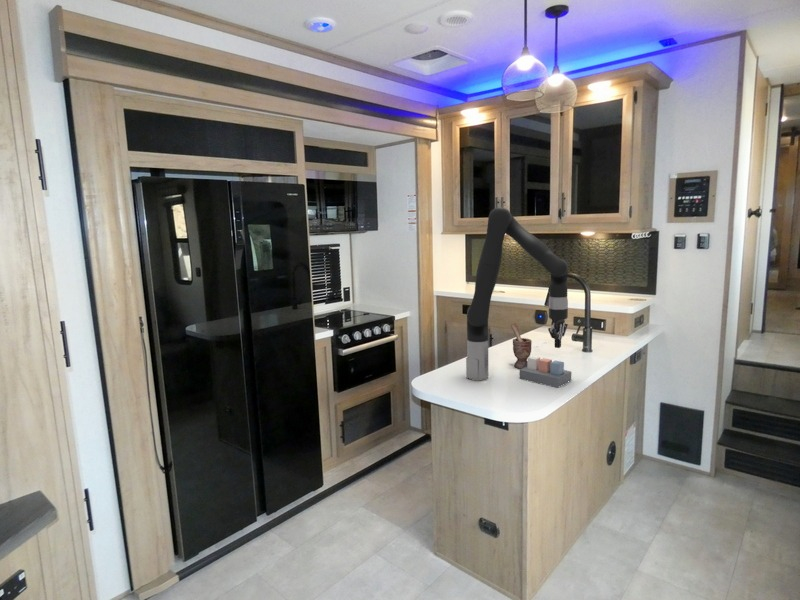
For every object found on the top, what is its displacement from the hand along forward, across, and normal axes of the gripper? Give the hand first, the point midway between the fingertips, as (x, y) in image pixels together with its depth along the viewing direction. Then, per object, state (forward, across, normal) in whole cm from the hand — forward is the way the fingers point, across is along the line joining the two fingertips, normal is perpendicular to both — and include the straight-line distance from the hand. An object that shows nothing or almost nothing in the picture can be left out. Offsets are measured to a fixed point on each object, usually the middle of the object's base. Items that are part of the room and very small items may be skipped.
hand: (557, 347), depth 201 cm
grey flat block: (+15, 0, +6) cm, 16 cm away
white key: (+11, 0, +11) cm, 16 cm away
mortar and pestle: (+15, +10, +25) cm, 31 cm away
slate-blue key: (+12, 0, 0) cm, 12 cm away
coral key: (+11, 0, +6) cm, 13 cm away
